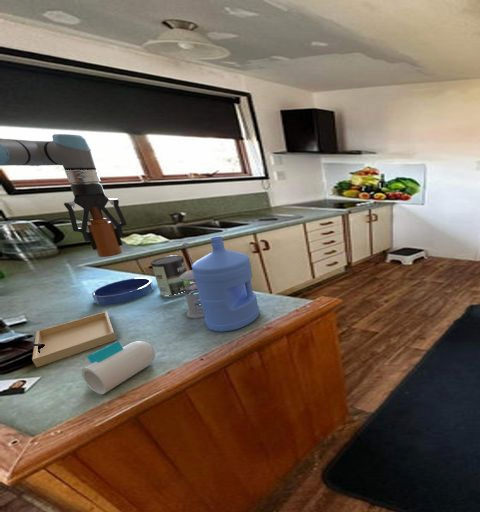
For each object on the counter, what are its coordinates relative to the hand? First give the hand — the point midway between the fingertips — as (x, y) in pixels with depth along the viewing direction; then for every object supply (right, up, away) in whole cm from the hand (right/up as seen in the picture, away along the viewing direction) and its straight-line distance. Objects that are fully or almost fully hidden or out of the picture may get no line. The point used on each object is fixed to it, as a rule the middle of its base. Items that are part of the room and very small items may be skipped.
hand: (108, 246), depth 101 cm
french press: (+40, -23, -4) cm, 46 cm away
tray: (+12, -28, -20) cm, 37 cm away
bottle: (0, -3, +1) cm, 3 cm away
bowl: (+1, -19, +7) cm, 20 cm away
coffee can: (+19, -18, +9) cm, 28 cm away
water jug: (+53, -25, -11) cm, 60 cm away
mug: (+39, -33, -34) cm, 61 cm away
